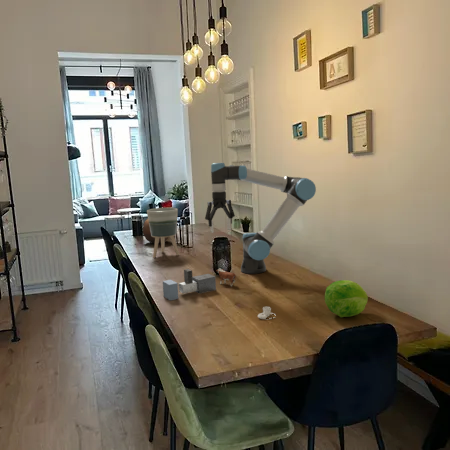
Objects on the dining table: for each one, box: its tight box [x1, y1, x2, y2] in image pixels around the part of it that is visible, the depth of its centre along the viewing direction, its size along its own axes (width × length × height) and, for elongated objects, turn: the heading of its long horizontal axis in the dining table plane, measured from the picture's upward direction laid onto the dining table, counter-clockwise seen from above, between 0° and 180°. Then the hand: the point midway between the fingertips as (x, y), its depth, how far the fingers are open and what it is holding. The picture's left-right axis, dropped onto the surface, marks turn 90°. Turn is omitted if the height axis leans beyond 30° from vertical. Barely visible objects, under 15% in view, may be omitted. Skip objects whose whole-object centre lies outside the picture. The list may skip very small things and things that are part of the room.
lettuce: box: [324, 279, 369, 318], centre depth 187 cm, size 17×20×15 cm
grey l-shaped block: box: [178, 268, 198, 295], centre depth 227 cm, size 17×4×11 cm, turn 121°
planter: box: [146, 207, 180, 259], centre depth 314 cm, size 22×22×33 cm
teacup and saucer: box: [257, 306, 277, 320], centre depth 190 cm, size 9×8×4 cm
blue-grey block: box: [162, 279, 179, 301], centre depth 220 cm, size 4×8×8 cm, turn 31°
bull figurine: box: [216, 268, 237, 287], centre depth 239 cm, size 4×13×8 cm, turn 45°
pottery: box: [142, 218, 169, 244], centre depth 360 cm, size 23×23×25 cm
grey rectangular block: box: [192, 273, 217, 295], centre depth 230 cm, size 10×7×7 cm
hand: (220, 230), depth 245 cm, fingers open, 10 cm apart
